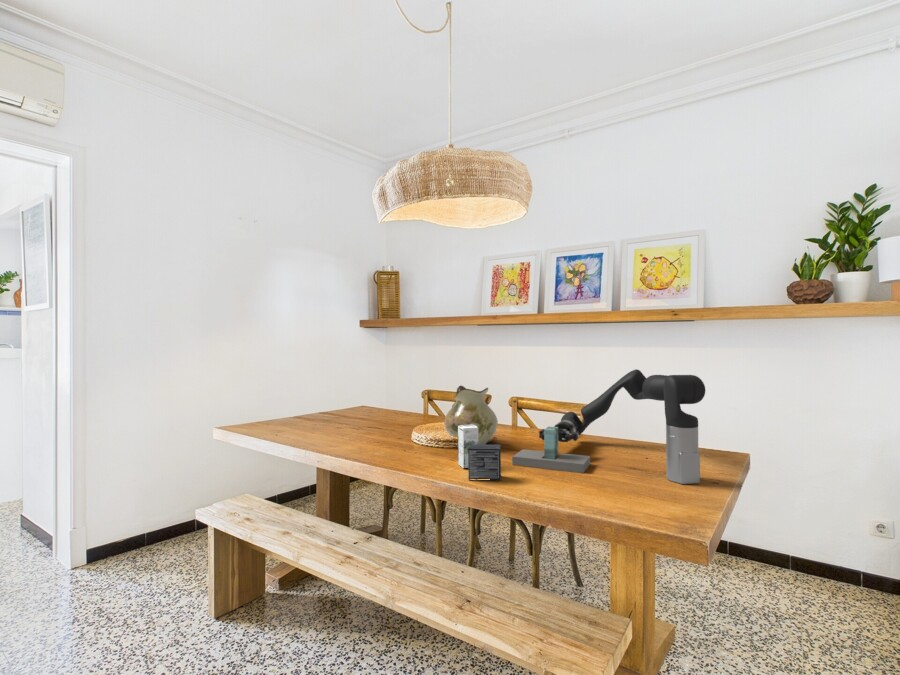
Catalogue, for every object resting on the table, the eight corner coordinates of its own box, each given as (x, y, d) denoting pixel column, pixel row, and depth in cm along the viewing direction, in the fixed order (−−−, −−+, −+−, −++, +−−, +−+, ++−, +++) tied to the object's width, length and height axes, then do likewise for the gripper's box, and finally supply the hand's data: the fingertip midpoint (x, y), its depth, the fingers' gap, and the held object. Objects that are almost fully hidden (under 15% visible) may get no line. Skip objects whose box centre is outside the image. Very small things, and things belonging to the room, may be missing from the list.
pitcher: (482, 454, 186) (481, 390, 187) (432, 447, 199) (431, 387, 199) (506, 443, 206) (505, 385, 206) (459, 438, 218) (458, 383, 218)
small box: (501, 475, 158) (500, 443, 158) (501, 481, 152) (501, 448, 152) (469, 474, 159) (468, 443, 159) (468, 480, 153) (467, 448, 153)
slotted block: (583, 473, 160) (583, 464, 160) (512, 464, 171) (512, 456, 171) (590, 464, 170) (590, 456, 170) (522, 457, 181) (522, 449, 181)
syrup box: (472, 463, 173) (472, 423, 173) (478, 468, 167) (478, 426, 167) (457, 465, 171) (457, 424, 171) (463, 469, 165) (463, 427, 165)
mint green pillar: (554, 467, 168) (554, 430, 168) (544, 465, 169) (544, 429, 169) (558, 462, 173) (558, 427, 173) (548, 461, 174) (548, 426, 174)
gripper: (582, 441, 188) (573, 450, 173) (546, 438, 194) (535, 446, 180) (582, 422, 188) (573, 429, 173) (546, 420, 194) (535, 426, 180)
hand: (554, 438), depth 176 cm, fingers open, 8 cm apart
